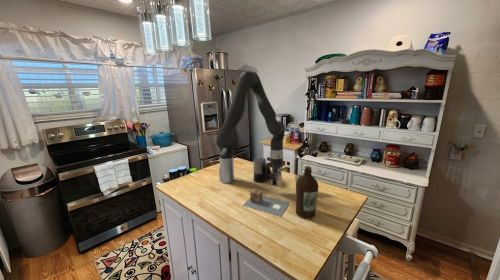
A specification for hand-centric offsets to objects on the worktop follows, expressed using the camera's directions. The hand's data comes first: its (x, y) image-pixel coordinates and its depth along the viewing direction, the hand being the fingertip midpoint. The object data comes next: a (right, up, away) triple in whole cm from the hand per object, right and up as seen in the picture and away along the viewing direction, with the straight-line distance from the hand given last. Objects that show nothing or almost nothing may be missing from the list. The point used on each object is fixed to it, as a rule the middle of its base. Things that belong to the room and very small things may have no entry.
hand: (276, 183), depth 124 cm
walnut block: (-12, -8, -8) cm, 16 cm away
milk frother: (-5, -2, +21) cm, 22 cm away
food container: (+17, -6, +3) cm, 18 cm away
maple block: (0, 0, 0) cm, 0 cm away
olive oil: (+12, -12, -19) cm, 26 cm away
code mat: (-7, -9, -10) cm, 15 cm away
